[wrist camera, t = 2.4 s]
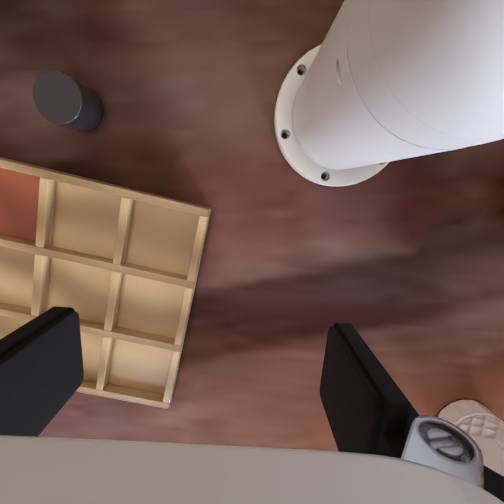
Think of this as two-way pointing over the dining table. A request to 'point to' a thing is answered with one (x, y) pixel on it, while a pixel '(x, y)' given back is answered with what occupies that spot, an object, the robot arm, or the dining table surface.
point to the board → (102, 273)
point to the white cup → (479, 430)
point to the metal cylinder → (67, 101)
